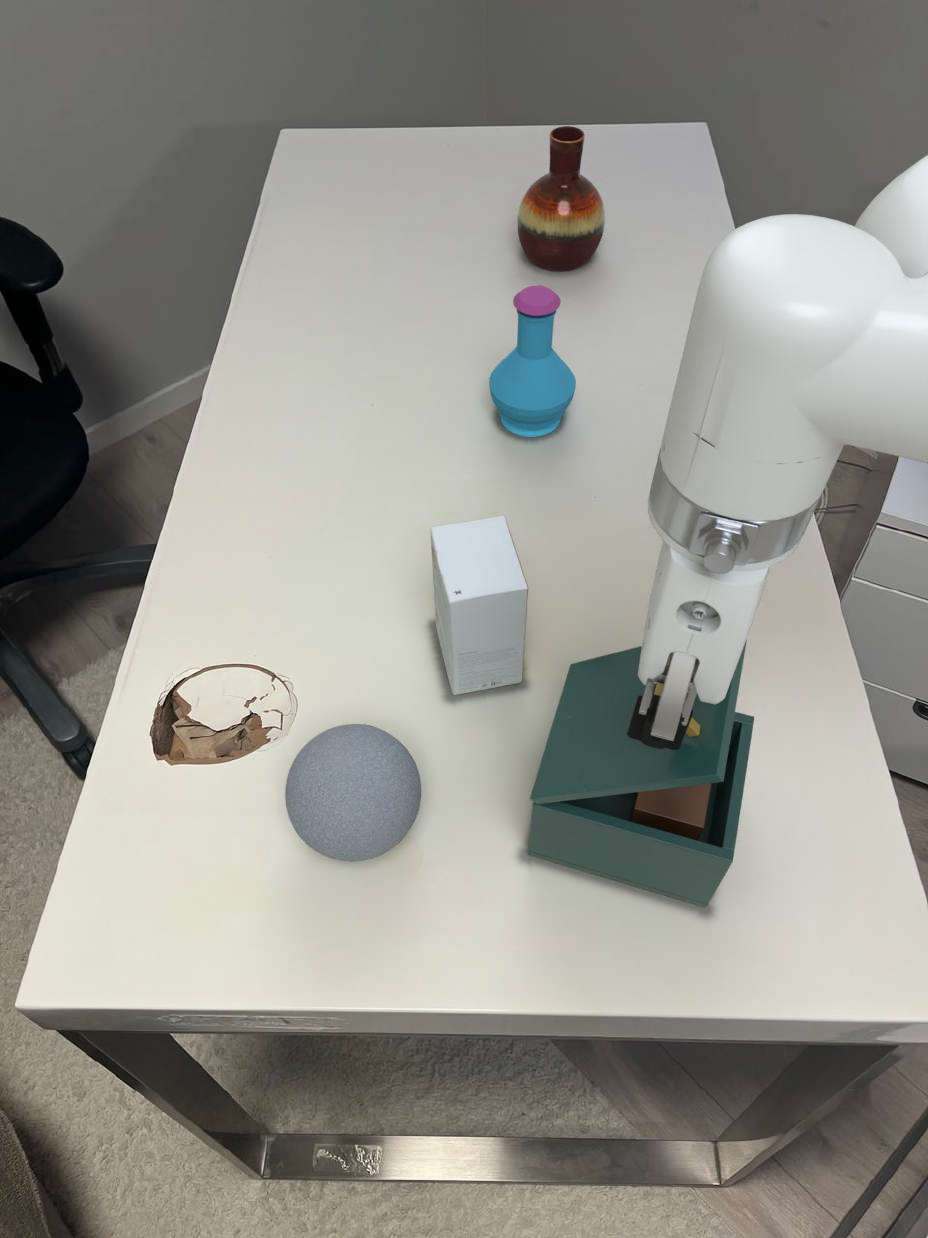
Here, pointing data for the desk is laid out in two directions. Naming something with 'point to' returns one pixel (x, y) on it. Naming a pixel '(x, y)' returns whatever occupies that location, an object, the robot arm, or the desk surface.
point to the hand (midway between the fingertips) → (663, 693)
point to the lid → (626, 736)
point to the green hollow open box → (648, 835)
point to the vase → (561, 208)
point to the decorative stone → (353, 792)
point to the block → (673, 809)
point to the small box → (479, 604)
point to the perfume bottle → (533, 370)
